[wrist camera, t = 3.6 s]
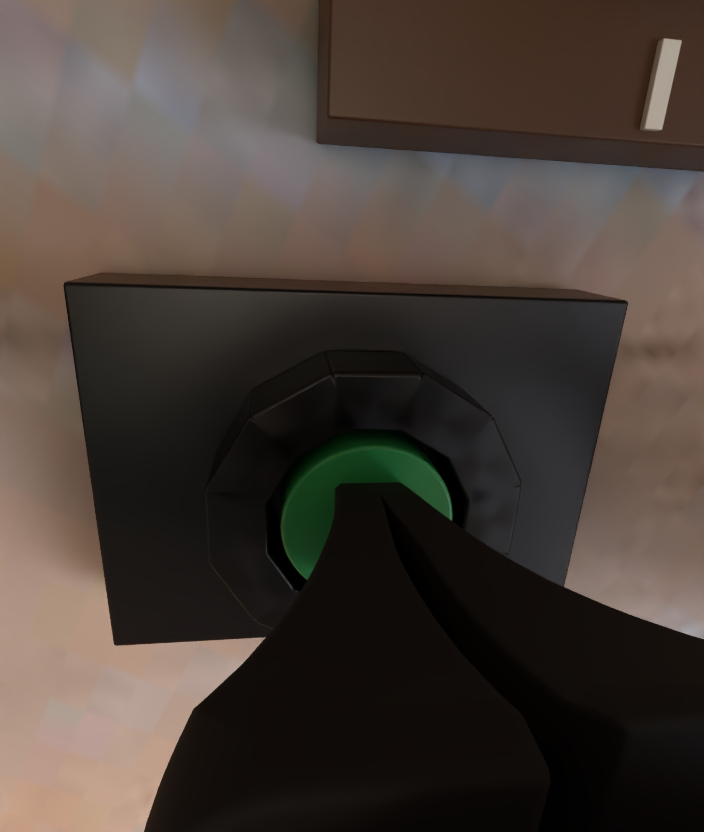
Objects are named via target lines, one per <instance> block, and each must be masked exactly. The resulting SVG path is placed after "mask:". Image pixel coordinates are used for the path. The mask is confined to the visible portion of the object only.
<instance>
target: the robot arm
mask: <svg viewBox="0 0 704 832" xmlns="http://www.w3.org/2000/svg"><path fill="white" fill-rule="evenodd" d="M144 832H704V639H701V638H697V637H694V636H690V635H687V634H684V633H681V632H678V631H675V630H672V629H669V628H666V627H663V626H661V625H658V624H655V623H652V622H649V621H646V620H643V619H640V618H637V617H635V616H632V615H629V614H627V613H624V612H622V611H619V610H616V609H614V608H611V607H609V606H606V605H604V604H601V603H599V602H597V601H594V600H592V599H590V598H587V597H585V596H583V595H581V594H578V593H576V592H574V591H571V590H569V589H567V588H565V587H562V586H560V585H558V584H556V583H554V582H552V581H550V580H548V579H546V578H544V577H542V576H540V575H538V574H536V573H535V572H533V571H531V570H529V569H527V568H525V567H523V566H521V565H520V564H518V563H516V562H514V561H512V560H511V559H509V558H507V557H505V556H504V555H502V554H500V553H499V552H497V551H496V550H494V549H492V548H491V547H489V546H488V545H486V544H485V543H483V542H482V541H480V540H478V539H477V538H475V537H474V536H472V535H471V534H469V533H468V532H467V531H465V530H464V529H462V528H461V527H459V526H458V525H457V524H455V523H454V522H452V521H451V520H450V519H448V518H447V517H446V516H444V515H443V514H442V513H440V512H439V511H438V510H436V509H435V508H434V507H432V506H431V505H430V504H429V503H427V502H426V501H425V500H423V499H422V498H421V497H420V496H418V495H417V494H416V493H414V492H413V491H412V490H410V489H409V488H408V487H406V486H405V485H403V484H402V483H400V482H388V483H341V484H340V485H339V486H338V487H336V488H335V506H334V519H333V522H332V526H331V529H330V532H329V535H328V538H327V540H326V542H325V545H324V547H323V549H322V552H321V554H320V557H319V559H318V561H317V563H316V565H315V567H314V569H313V571H312V573H311V574H310V576H309V578H308V580H307V581H306V583H305V585H304V587H303V588H302V590H301V591H300V593H299V595H298V596H297V597H296V599H295V600H294V602H293V603H292V605H291V606H290V608H289V609H288V611H287V612H286V613H285V615H284V616H283V617H282V619H281V620H280V621H279V623H278V624H277V625H276V627H275V628H274V629H273V630H272V631H271V632H270V634H269V635H268V636H267V637H266V638H265V639H264V640H263V642H262V643H261V644H260V645H259V646H258V647H257V648H256V650H255V651H254V652H253V653H252V654H251V655H250V656H249V658H248V659H247V660H246V661H245V662H244V663H243V664H242V665H241V666H240V667H239V668H238V669H237V670H236V671H235V672H234V673H233V674H231V675H230V676H229V677H228V678H227V679H226V680H225V681H224V682H223V683H222V684H221V685H220V686H218V687H217V688H216V689H215V690H214V691H213V692H212V693H211V694H210V695H209V696H208V697H207V698H205V699H204V700H203V701H202V702H201V703H200V704H199V705H198V706H196V707H195V708H194V709H193V711H192V713H191V715H190V717H189V719H188V721H187V724H186V726H185V728H184V730H183V732H182V734H181V736H180V738H179V741H178V743H177V745H176V747H175V749H174V752H173V754H172V756H171V759H170V761H169V763H168V766H167V768H166V770H165V773H164V775H163V778H162V780H161V783H160V786H159V788H158V791H157V794H156V797H155V799H154V803H153V806H152V809H151V812H150V814H149V817H148V820H147V823H146V827H145V831H144Z"/></svg>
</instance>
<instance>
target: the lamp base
mask: <svg viewBox="0 0 704 832" xmlns="http://www.w3.org/2000/svg"><path fill="white" fill-rule="evenodd" d="M63 286H64V293H65V300H66V307H67V315H68V322H69V329H70V336H71V343H72V350H73V357H74V364H75V371H76V378H77V385H78V393H79V400H80V407H81V414H82V421H83V428H84V435H85V442H86V449H87V456H88V463H89V471H90V478H91V485H92V492H93V499H94V506H95V513H96V520H97V527H98V534H99V541H100V549H101V556H102V563H103V570H104V577H105V584H106V591H107V598H108V605H109V612H110V619H111V627H112V634H113V641H114V645H116V646H118V645H136V644H154V643H171V642H189V641H206V640H224V639H241V638H259V637H267V636H268V635H269V634H270V632H271V631H272V630H273V629H274V628H275V627H276V625H277V624H278V623H279V621H280V620H281V619H282V617H283V616H284V615H285V613H286V612H287V611H288V609H289V608H290V606H291V605H292V603H293V602H294V600H295V599H296V597H297V596H298V595H299V593H300V591H301V590H302V588H303V587H304V585H305V583H306V581H307V580H306V579H305V578H304V577H303V576H302V575H301V574H300V573H299V572H298V571H297V570H296V569H295V567H294V566H293V565H292V563H291V562H290V560H289V558H288V557H287V555H286V552H285V550H284V547H283V544H282V539H281V531H280V489H281V481H282V479H283V478H284V476H285V474H286V473H287V471H288V470H289V468H290V467H291V465H292V464H293V462H294V460H295V459H296V458H297V457H299V456H300V455H302V454H304V453H306V452H308V451H310V450H312V449H314V448H316V447H317V446H319V445H321V444H323V443H325V442H327V441H329V440H331V439H333V438H334V437H336V436H338V435H340V434H342V433H344V432H346V431H401V432H403V433H405V434H406V435H408V436H410V437H412V438H413V439H415V440H417V441H418V442H419V443H420V444H421V446H422V447H423V449H424V451H425V452H426V454H427V455H428V457H429V458H430V460H431V462H432V463H433V465H434V466H435V468H436V470H437V471H438V473H439V474H440V476H441V477H442V479H443V481H444V482H445V484H446V486H447V489H448V491H449V493H450V497H451V502H452V510H453V516H452V522H454V523H455V524H457V525H458V526H459V527H461V528H462V529H464V530H465V531H467V532H468V533H469V534H471V535H472V536H474V537H475V538H477V539H478V540H480V541H482V542H483V543H485V544H486V545H488V546H489V547H491V548H492V549H494V550H496V551H497V552H499V553H500V554H502V555H504V556H505V557H507V558H509V559H511V560H512V561H514V562H516V563H518V564H520V565H521V566H523V567H525V568H527V569H529V570H531V571H533V572H535V573H536V574H538V575H540V576H542V577H544V578H546V579H548V580H550V581H552V582H554V583H556V584H558V585H560V586H562V587H564V584H565V579H566V575H567V571H568V566H569V562H570V557H571V553H572V548H573V544H574V540H575V535H576V531H577V526H578V522H579V518H580V513H581V509H582V504H583V500H584V496H585V491H586V487H587V482H588V478H589V473H590V469H591V465H592V460H593V456H594V451H595V447H596V443H597V438H598V434H599V429H600V425H601V421H602V416H603V412H604V407H605V403H606V398H607V394H608V390H609V385H610V381H611V376H612V372H613V368H614V363H615V359H616V354H617V350H618V345H619V341H620V337H621V332H622V328H623V323H624V319H625V315H626V310H627V306H628V302H627V301H625V300H622V299H617V298H612V297H608V296H603V295H598V294H594V293H589V292H585V291H580V290H569V289H541V288H513V287H485V286H457V285H429V284H402V283H374V282H346V281H318V280H290V279H262V278H235V277H207V276H179V275H151V274H123V273H98V274H94V275H91V276H87V277H83V278H79V279H75V280H71V281H67V282H65V283H64V285H63Z"/></svg>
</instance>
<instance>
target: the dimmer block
mask: <svg viewBox="0 0 704 832" xmlns="http://www.w3.org/2000/svg"><path fill="white" fill-rule="evenodd" d="M316 141H317V143H319V144H331V145H345V146H359V147H373V148H387V149H401V150H415V151H429V152H443V153H457V154H470V155H484V156H498V157H512V158H526V159H540V160H554V161H568V162H582V163H596V164H610V165H623V166H637V167H651V168H665V169H679V170H693V171H704V0H319V38H318V86H317V135H316Z"/></svg>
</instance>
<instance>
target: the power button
mask: <svg viewBox="0 0 704 832" xmlns="http://www.w3.org/2000/svg"><path fill="white" fill-rule="evenodd" d="M388 482H400V483H402V484H403V485H405V486H406V487H408V488H409V489H410V490H412V491H413V492H414V493H416V494H417V495H418V496H420V497H421V498H422V499H423V500H425V501H426V502H427V503H429V504H430V505H431V506H432V507H434V508H435V509H436V510H438V511H439V512H440V513H442V514H443V515H444V516H446V517H447V518H448V519H450V520H451V521H452V516H453V510H452V502H451V497H450V493H449V491H448V489H447V486H446V484H445V482H444V481H443V479H442V477H441V476H440V474H439V473H438V471H437V470H436V468H435V466H434V465H433V463H432V462H431V460H430V458H429V457H428V455H427V454H426V452H425V451H424V449H423V447H422V446H421V444H420V443H419V442H418V441H417V440H415V439H413V438H412V437H410V436H408V435H406V434H405V433H403V432H401V431H346V432H344V433H342V434H340V435H338V436H336V437H334V438H333V439H331V440H329V441H327V442H325V443H323V444H321V445H319V446H317V447H316V448H314V449H312V450H310V451H308V452H306V453H304V454H302V455H300V456H299V457H297V458H296V459H295V460H294V462H293V464H292V465H291V467H290V468H289V470H288V471H287V473H286V474H285V476H284V478H283V479H282V481H281V489H280V531H281V539H282V544H283V547H284V550H285V552H286V555H287V557H288V558H289V560H290V562H291V563H292V565H293V566H294V567H295V569H296V570H297V571H298V572H299V573H300V574H301V575H302V576H303V577H304V578H305V579H306V580H308V578H309V576H310V574H311V573H312V571H313V569H314V567H315V565H316V563H317V561H318V559H319V557H320V554H321V552H322V549H323V547H324V545H325V542H326V540H327V538H328V535H329V532H330V529H331V526H332V522H333V519H334V506H335V488H336V487H338V486H339V485H340V484H341V483H388Z"/></svg>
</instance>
